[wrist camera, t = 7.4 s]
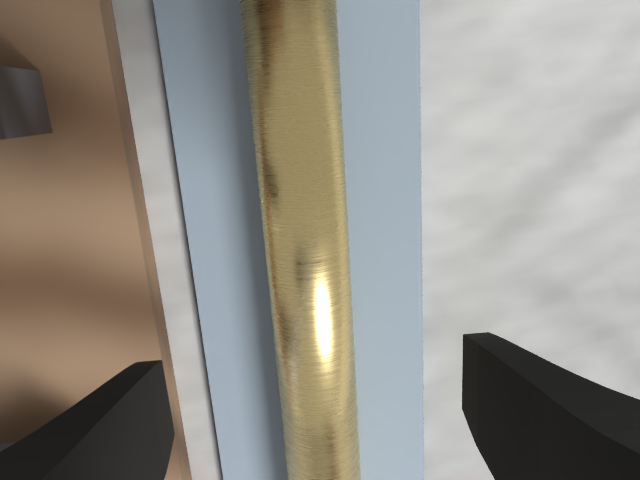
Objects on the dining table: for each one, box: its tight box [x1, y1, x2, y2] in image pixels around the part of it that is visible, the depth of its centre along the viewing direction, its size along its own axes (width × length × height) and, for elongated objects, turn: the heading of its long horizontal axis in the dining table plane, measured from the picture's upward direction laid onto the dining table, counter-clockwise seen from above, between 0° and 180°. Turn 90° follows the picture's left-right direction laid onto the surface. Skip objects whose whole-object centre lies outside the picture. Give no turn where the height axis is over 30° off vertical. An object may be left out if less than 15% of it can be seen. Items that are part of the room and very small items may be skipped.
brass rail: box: [240, 0, 361, 480], centre depth 18 cm, size 22×3×3 cm, turn 4°
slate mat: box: [153, 0, 424, 480], centre depth 20 cm, size 28×9×1 cm, turn 4°
